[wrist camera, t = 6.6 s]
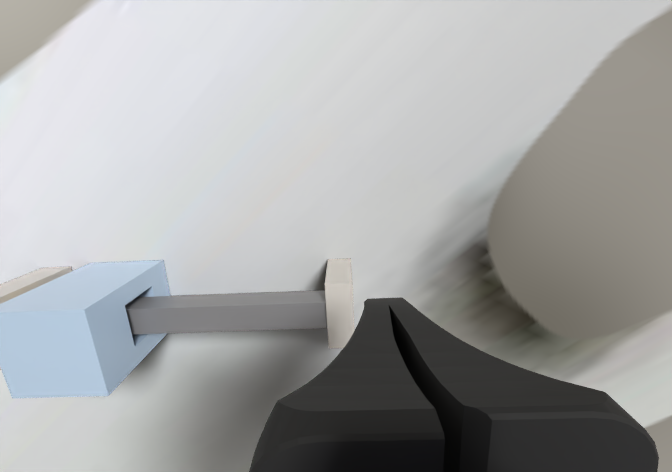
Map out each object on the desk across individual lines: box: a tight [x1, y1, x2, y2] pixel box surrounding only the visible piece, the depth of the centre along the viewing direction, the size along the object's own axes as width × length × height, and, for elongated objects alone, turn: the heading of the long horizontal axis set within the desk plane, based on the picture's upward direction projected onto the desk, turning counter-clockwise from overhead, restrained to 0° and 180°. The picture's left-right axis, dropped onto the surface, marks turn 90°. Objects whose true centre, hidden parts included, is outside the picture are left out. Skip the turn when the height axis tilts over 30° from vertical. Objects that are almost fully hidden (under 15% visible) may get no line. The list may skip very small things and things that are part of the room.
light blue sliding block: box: [0, 260, 170, 398], centre depth 19 cm, size 5×5×7 cm
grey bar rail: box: [0, 258, 354, 370], centre depth 20 cm, size 21×4×5 cm, turn 93°
